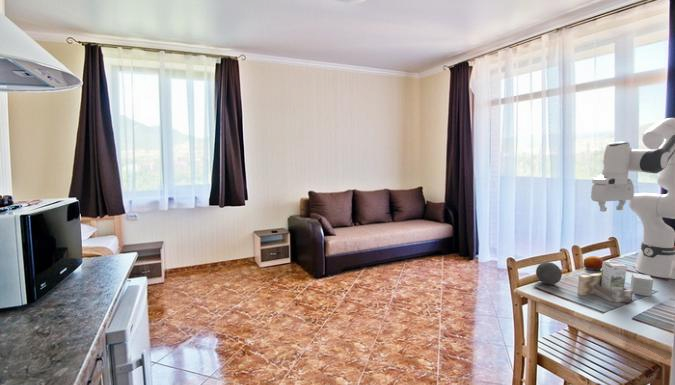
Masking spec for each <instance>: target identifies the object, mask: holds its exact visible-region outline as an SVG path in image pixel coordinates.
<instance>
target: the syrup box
mask: <svg viewBox="0 0 675 385" xmlns="http://www.w3.org/2000/svg"><path fill="white" fill-rule="evenodd" d="M627 268H628V267H627V265H626V264H624V263H622V262H620V261H617V260H615V261H614V260H609V261H606V260H603V264H602V268H601V271H600V273H601V281H600V286H601V287H603V288H606V289H608V290H611V291H613V292H617V291H623V290H624V287H625V283H626V277H627V276H626V275H627Z"/></svg>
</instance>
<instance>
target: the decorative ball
mask: <svg viewBox="0 0 675 385" xmlns="http://www.w3.org/2000/svg"><path fill="white" fill-rule="evenodd" d="M562 274H563V273H562V270H561V268H560V267H559V266H558V265H557V264H555V263H553V262H549V261H545V262H541V263H540V264H538V266H537V267H536V270H535V275H536V278H537V279H538V280H539V281H540V282H541V283H543V284H545V285H551V286H552V285H556V284H557V283H559V282H560V281H561V279H562Z"/></svg>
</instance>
